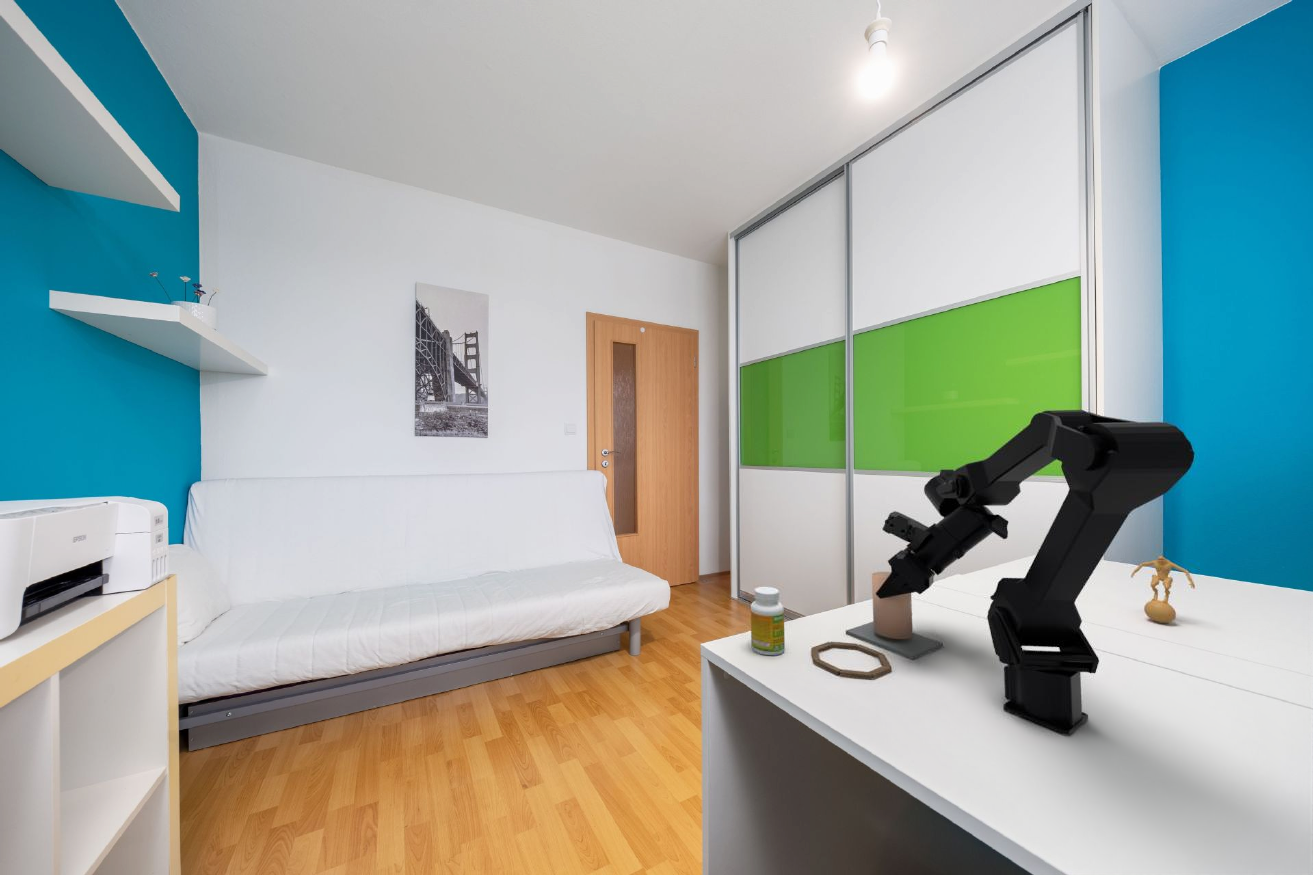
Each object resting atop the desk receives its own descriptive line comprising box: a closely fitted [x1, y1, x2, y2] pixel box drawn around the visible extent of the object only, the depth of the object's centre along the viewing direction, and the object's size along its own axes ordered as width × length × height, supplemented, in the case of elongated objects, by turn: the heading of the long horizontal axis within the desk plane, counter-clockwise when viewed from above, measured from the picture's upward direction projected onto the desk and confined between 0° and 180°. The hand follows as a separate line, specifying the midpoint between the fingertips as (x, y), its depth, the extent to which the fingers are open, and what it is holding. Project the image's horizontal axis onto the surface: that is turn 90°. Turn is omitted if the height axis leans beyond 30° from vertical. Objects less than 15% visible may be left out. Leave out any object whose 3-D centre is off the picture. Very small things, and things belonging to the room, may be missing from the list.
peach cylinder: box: [871, 571, 914, 639], centre depth 79 cm, size 6×6×10 cm
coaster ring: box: [810, 641, 892, 680], centre depth 72 cm, size 11×11×1 cm
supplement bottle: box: [750, 586, 786, 656], centre depth 76 cm, size 5×5×10 cm
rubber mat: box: [845, 621, 944, 660], centre depth 79 cm, size 12×9×1 cm
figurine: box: [1130, 555, 1196, 624], centre depth 86 cm, size 8×6×12 cm
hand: (882, 591), depth 80 cm, fingers closed on peach cylinder, 6 cm apart
